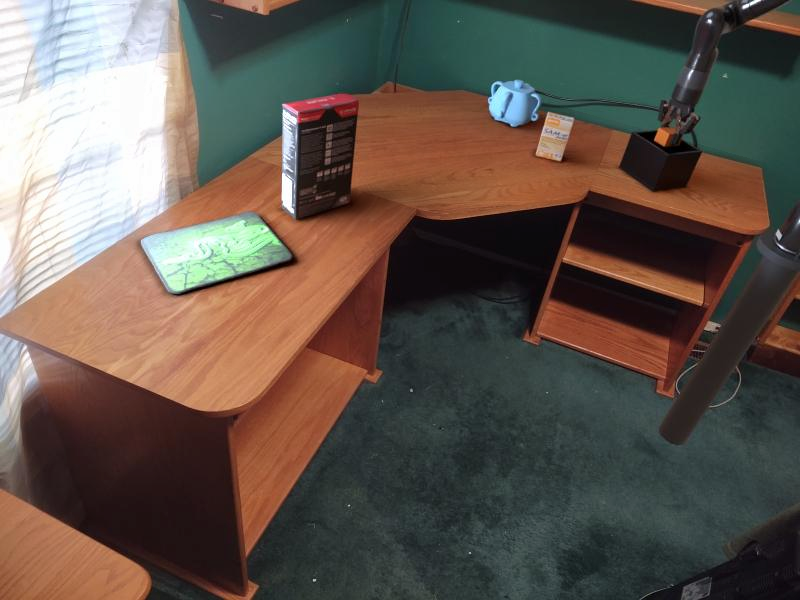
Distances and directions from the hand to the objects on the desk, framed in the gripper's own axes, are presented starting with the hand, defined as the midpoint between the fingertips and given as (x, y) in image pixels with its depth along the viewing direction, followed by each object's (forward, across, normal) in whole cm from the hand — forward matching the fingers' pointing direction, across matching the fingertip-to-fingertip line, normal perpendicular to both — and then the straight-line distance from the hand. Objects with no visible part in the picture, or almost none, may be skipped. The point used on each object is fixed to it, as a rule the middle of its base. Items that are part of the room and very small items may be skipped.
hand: (667, 140), depth 177 cm
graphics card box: (+12, +6, +106) cm, 107 cm away
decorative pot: (+12, +47, +23) cm, 54 cm away
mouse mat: (+12, -7, +133) cm, 134 cm away
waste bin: (+12, 0, 0) cm, 12 cm away
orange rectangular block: (+1, 0, 0) cm, 1 cm away
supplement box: (+12, +19, +26) cm, 34 cm away
